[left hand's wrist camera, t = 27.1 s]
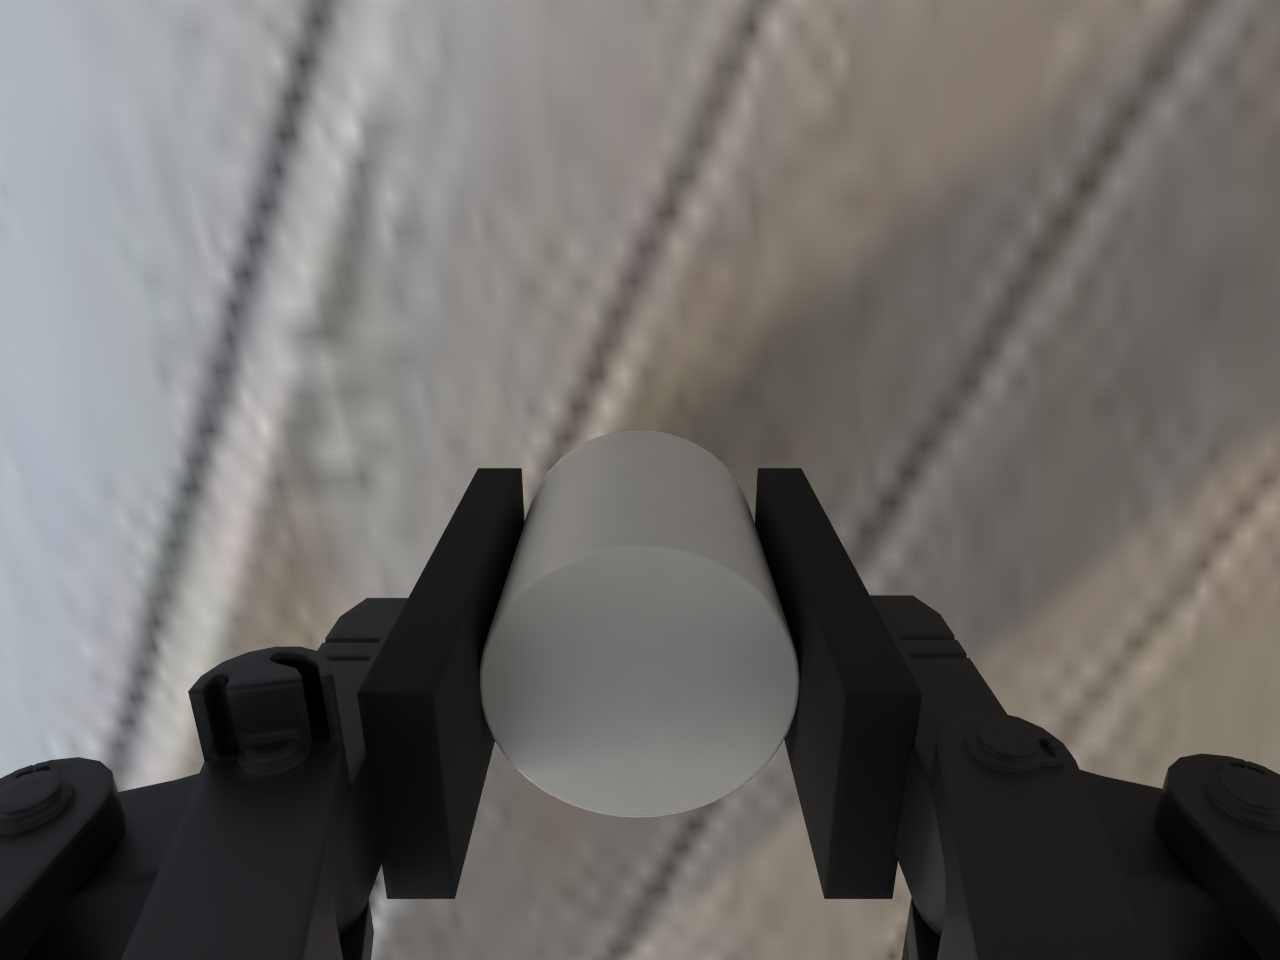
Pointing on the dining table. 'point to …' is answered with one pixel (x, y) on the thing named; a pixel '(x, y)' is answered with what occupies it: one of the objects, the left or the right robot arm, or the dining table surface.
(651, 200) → the dining table surface
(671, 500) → the can
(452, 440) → the dining table surface
